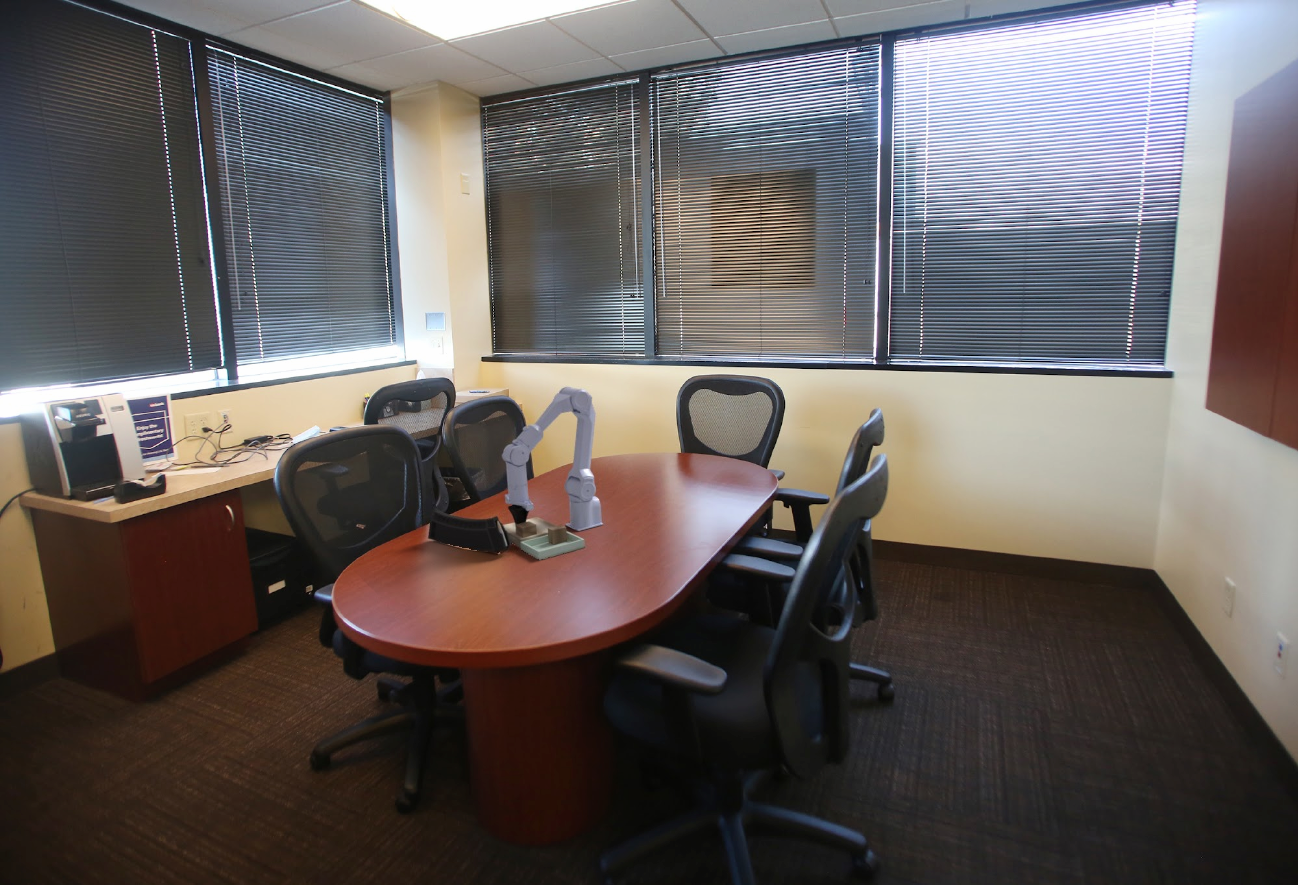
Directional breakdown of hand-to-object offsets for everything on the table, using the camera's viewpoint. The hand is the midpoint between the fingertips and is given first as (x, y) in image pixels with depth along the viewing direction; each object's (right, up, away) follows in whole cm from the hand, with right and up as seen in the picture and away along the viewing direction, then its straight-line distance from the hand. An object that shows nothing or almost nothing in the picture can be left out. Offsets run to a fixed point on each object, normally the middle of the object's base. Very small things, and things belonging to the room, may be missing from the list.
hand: (520, 528), depth 213 cm
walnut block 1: (+2, -1, -3) cm, 4 cm away
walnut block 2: (+10, -1, -2) cm, 11 cm away
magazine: (-15, -6, -4) cm, 16 cm away
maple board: (+2, -3, +4) cm, 5 cm away
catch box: (+11, -5, -7) cm, 14 cm away
